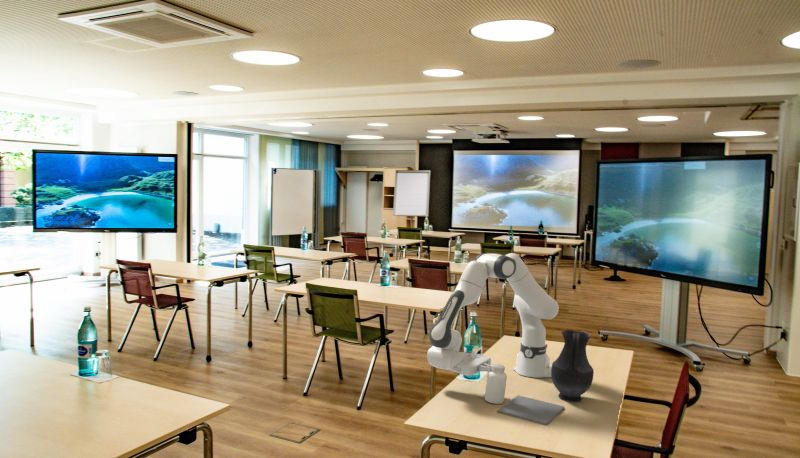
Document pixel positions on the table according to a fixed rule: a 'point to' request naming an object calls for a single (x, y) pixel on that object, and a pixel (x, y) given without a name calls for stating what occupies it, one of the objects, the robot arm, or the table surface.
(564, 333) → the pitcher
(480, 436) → the table surface
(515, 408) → the mat
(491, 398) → the pill bottle
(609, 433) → the table surface
